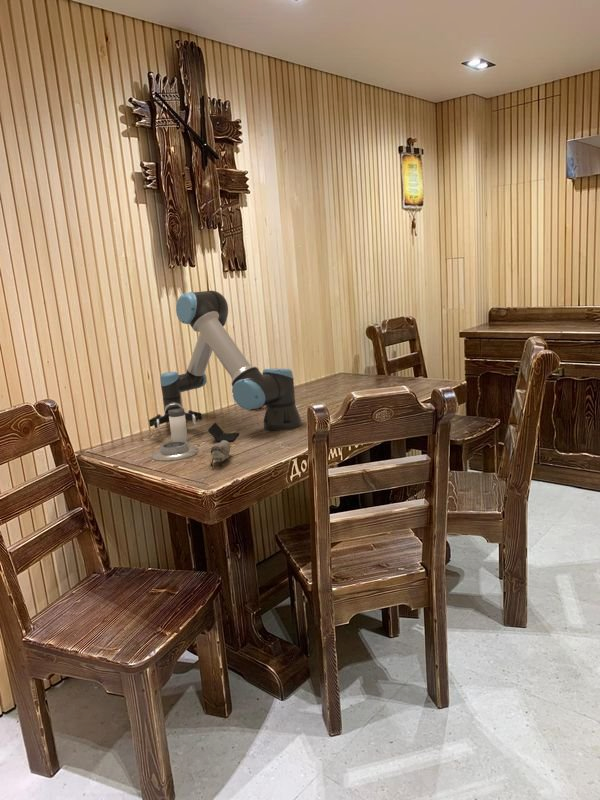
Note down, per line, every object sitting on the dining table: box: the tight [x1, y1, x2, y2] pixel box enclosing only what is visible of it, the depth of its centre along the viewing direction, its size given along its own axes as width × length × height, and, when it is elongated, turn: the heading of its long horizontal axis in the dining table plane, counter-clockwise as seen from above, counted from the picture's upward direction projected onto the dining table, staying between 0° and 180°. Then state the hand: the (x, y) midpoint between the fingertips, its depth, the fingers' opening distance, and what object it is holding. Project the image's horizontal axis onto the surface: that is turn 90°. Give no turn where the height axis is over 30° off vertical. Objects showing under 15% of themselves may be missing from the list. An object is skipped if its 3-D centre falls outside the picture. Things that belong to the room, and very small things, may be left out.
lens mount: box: [151, 440, 199, 462], centre depth 210 cm, size 16×16×4 cm
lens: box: [168, 407, 189, 442], centre depth 228 cm, size 6×6×12 cm
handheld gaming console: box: [207, 422, 240, 443], centre depth 226 cm, size 12×7×10 cm
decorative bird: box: [208, 440, 231, 470], centre depth 196 cm, size 5×16×8 cm, turn 173°
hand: (176, 423), depth 227 cm, fingers open, 13 cm apart
